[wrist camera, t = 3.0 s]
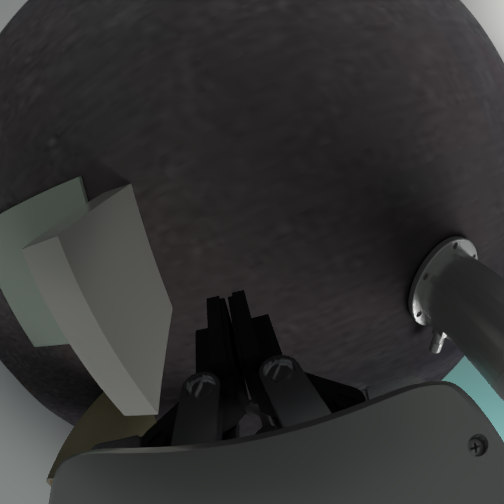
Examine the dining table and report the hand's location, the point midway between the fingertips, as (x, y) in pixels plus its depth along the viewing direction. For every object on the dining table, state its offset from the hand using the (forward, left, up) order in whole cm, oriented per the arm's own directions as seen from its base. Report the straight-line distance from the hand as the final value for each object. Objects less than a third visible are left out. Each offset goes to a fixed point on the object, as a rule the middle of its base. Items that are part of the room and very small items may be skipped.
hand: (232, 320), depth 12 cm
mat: (0, +19, -12) cm, 22 cm away
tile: (0, +8, -12) cm, 14 cm away
